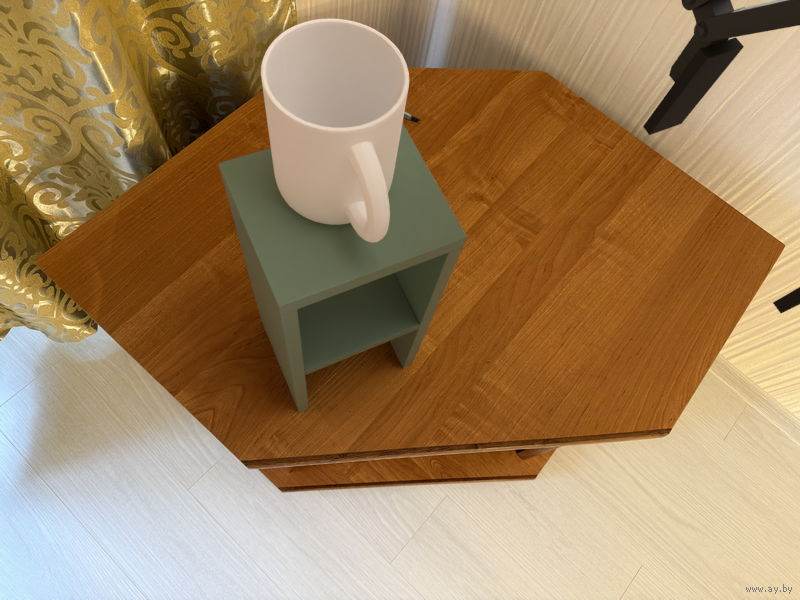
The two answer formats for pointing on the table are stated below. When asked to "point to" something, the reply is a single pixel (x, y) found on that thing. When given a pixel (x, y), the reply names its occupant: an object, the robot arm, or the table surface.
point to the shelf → (342, 267)
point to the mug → (335, 121)
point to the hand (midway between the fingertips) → (723, 207)
